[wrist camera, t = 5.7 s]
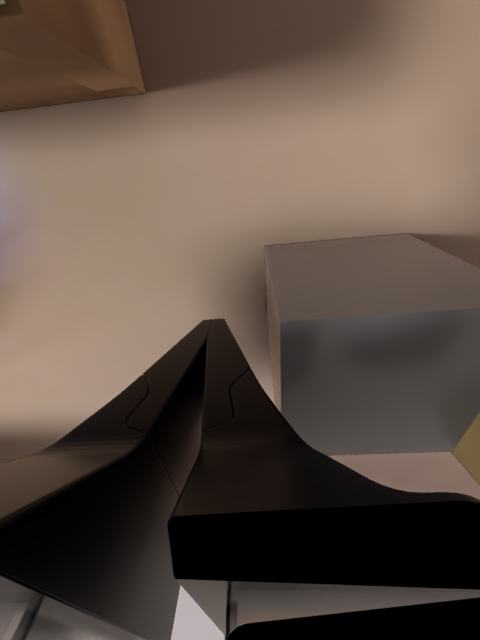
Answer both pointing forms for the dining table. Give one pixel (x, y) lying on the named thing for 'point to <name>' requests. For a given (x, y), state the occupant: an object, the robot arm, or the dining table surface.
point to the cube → (374, 343)
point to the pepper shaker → (470, 450)
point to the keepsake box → (66, 52)
